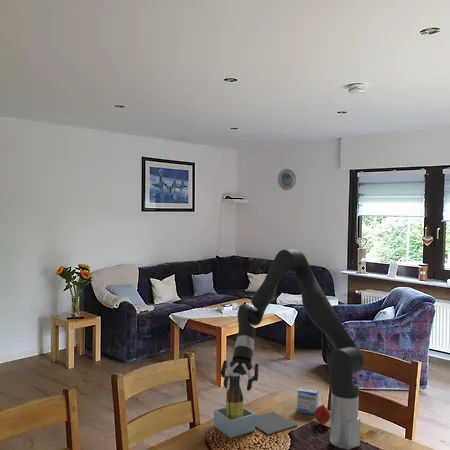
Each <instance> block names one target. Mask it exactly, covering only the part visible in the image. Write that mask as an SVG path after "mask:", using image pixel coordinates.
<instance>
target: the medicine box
mask: <svg viewBox="0 0 450 450" xmlns="http://www.w3.org/2000/svg"><path fill="white" fill-rule="evenodd" d="M296 396H297V397H296V398H297V400H296V401H297V402H296V412H297V413H300V412H304V413H303V414H308V413H310V414H309V415H315V411H316V409H317V408H318V407H319V405H318V403H319V390H318V389H311V388H305V387H298V389H297V395H296Z"/></svg>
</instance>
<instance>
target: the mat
mask: <svg viewBox="0 0 450 450" xmlns="http://www.w3.org/2000/svg"><path fill="white" fill-rule="evenodd" d="M255 427H256V428H255V429H257V430H259V431H260V430H261V431H260V432H262V431H263V432H264V433H263V432H262V433H263V434H265V433H266V434H265V435H267V436H271V435H273V434H272V433H275V432H277V431H281V432H283V431H288V430H291V429H293V428H297V427H298V424H296V423H294V422H293V421H291V420H289V419H288V418H286V417H284V416H283V415H281V414H278V413H276V412H275V411H270V412H267V413H266V412H265V413H262V414H259V415H256V426H255ZM270 434H271V435H270ZM275 434H276V433H275Z"/></svg>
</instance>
